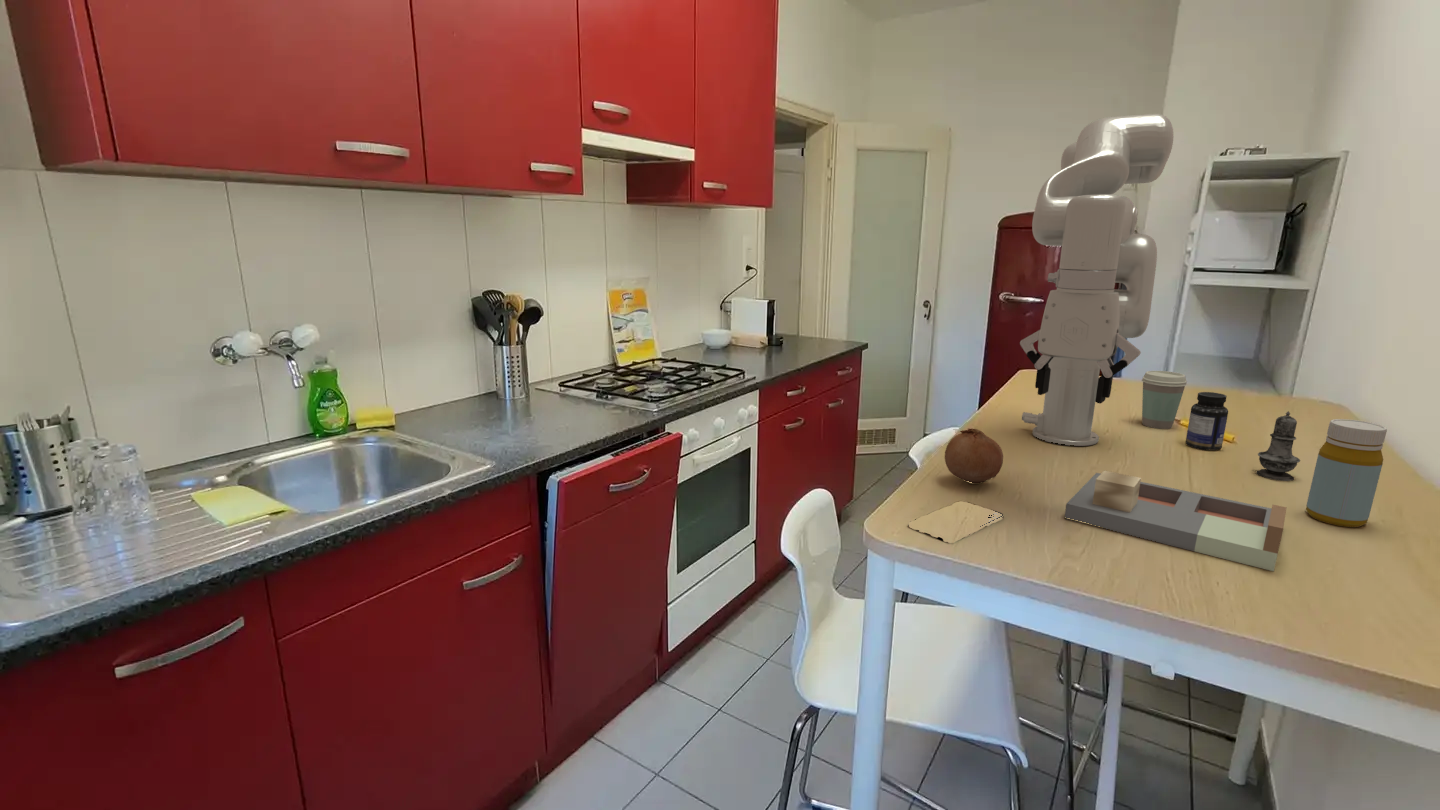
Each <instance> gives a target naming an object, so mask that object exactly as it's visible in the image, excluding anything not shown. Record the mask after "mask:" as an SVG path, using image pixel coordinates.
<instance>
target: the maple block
mask: <svg viewBox="0 0 1440 810" xmlns="http://www.w3.org/2000/svg"><path fill="white" fill-rule="evenodd" d="M1140 482H1142V477H1138V476H1134V475H1129V474H1128V475H1127V474H1123V473H1118V472H1114V471H1108V470H1103V471H1102V472H1101V474H1100V475H1099V477H1098V478H1097V479H1096V483H1095V490H1094V497H1093V504H1096V505H1100V506H1104V507H1109V508H1113V509H1117V510H1121V511H1126V512H1131V511H1132V509H1133V508H1134V506H1135V505H1136V504H1137V501H1138V495H1139V488H1140Z"/></svg>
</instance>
